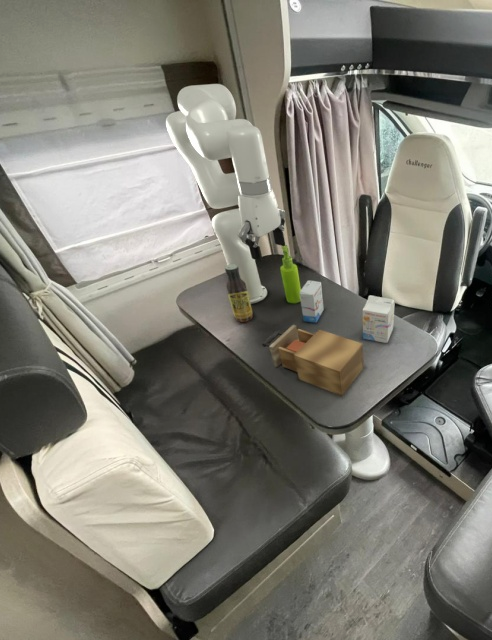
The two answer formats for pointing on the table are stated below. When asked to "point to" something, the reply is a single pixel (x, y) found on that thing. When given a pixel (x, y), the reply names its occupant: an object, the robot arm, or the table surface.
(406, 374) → the table surface
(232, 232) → the robot arm
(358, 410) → the table surface
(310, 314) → the ink box
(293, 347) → the block
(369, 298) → the ink box
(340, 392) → the cabinet
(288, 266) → the soap dispenser
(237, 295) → the sauce bottle
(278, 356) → the drawer
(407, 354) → the table surface
